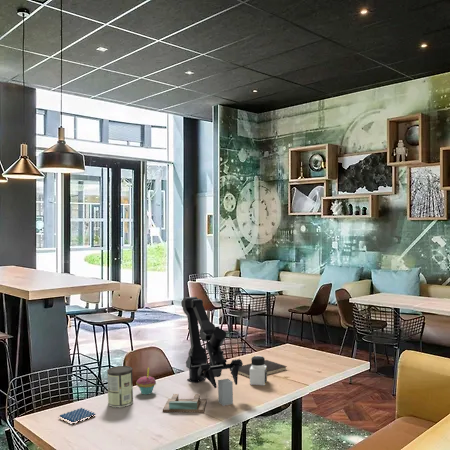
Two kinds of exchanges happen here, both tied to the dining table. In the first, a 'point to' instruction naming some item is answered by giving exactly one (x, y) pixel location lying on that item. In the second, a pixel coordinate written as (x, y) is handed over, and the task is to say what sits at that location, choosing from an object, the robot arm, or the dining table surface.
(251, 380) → the medicine bottle
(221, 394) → the block
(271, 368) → the hardcover book
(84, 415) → the woven mat
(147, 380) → the cupcake
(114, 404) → the coffee can
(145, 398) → the dining table surface
